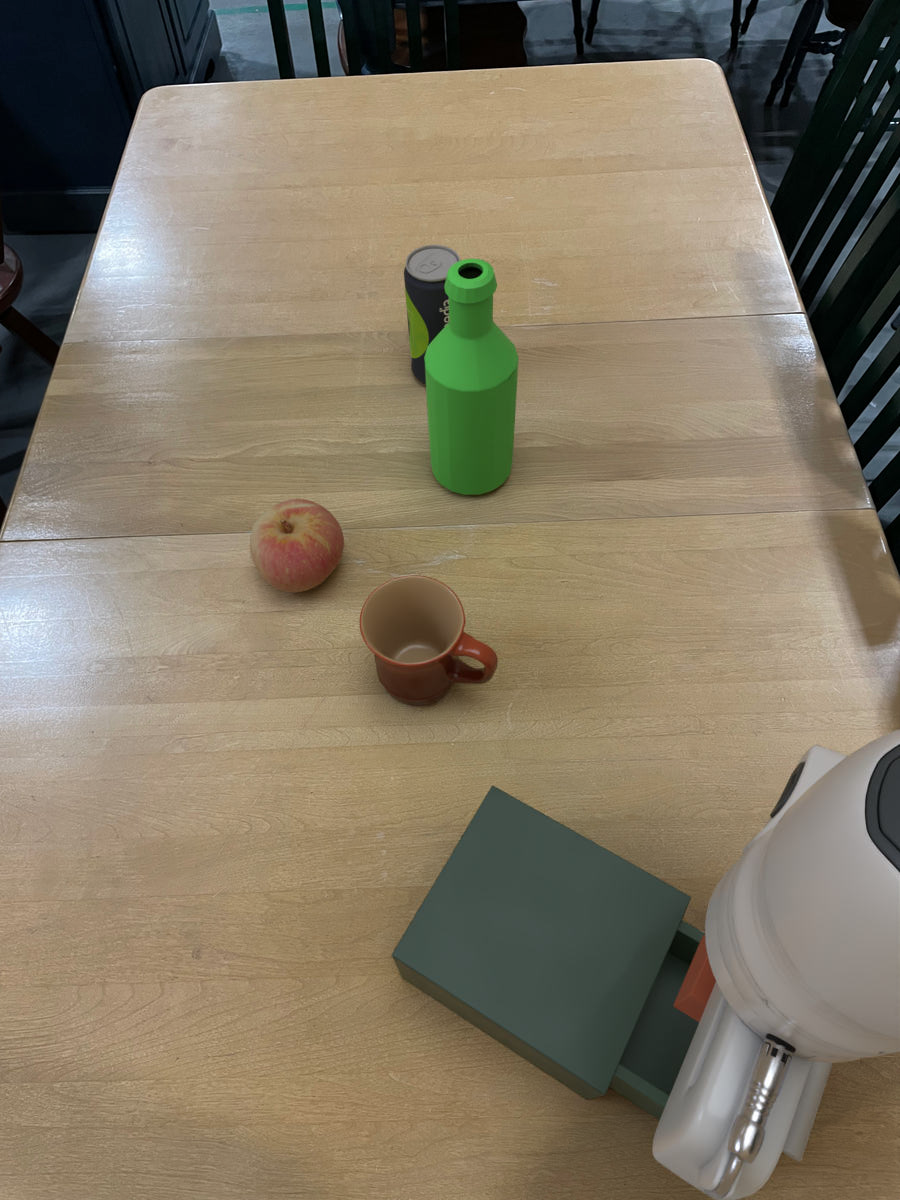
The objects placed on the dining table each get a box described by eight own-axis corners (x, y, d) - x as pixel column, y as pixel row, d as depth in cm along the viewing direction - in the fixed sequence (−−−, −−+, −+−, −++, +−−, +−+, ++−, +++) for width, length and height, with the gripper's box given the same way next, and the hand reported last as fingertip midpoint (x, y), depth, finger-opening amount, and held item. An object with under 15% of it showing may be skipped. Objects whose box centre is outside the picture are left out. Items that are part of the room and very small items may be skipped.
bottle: (476, 426, 95) (477, 225, 74) (528, 471, 92) (545, 273, 71) (415, 465, 93) (397, 268, 71) (466, 513, 89) (463, 320, 68)
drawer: (822, 1022, 62) (864, 1009, 55) (762, 1203, 56) (801, 1212, 50) (582, 883, 68) (594, 855, 61) (505, 1034, 62) (509, 1023, 55)
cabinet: (664, 926, 67) (692, 896, 58) (587, 1100, 61) (605, 1095, 52) (490, 825, 71) (492, 784, 63) (401, 977, 65) (390, 955, 57)
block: (776, 976, 49) (802, 964, 45) (748, 1052, 47) (772, 1045, 43) (703, 934, 50) (722, 918, 46) (672, 1006, 48) (689, 995, 44)
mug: (355, 696, 78) (340, 641, 69) (397, 621, 82) (389, 561, 73) (474, 746, 75) (474, 696, 66) (512, 666, 79) (517, 609, 71)
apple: (364, 559, 86) (354, 510, 79) (308, 622, 82) (294, 576, 76) (298, 521, 89) (283, 471, 82) (241, 580, 85) (221, 533, 78)
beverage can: (432, 398, 98) (425, 289, 85) (401, 368, 101) (391, 258, 88) (474, 375, 100) (475, 264, 87) (443, 346, 103) (439, 235, 90)
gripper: (813, 1257, 30) (717, 1221, 42) (958, 779, 39) (846, 860, 51) (648, 1147, 32) (600, 1143, 43) (823, 715, 41) (745, 807, 53)
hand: (733, 988), depth 47 cm, fingers closed on block, 4 cm apart
